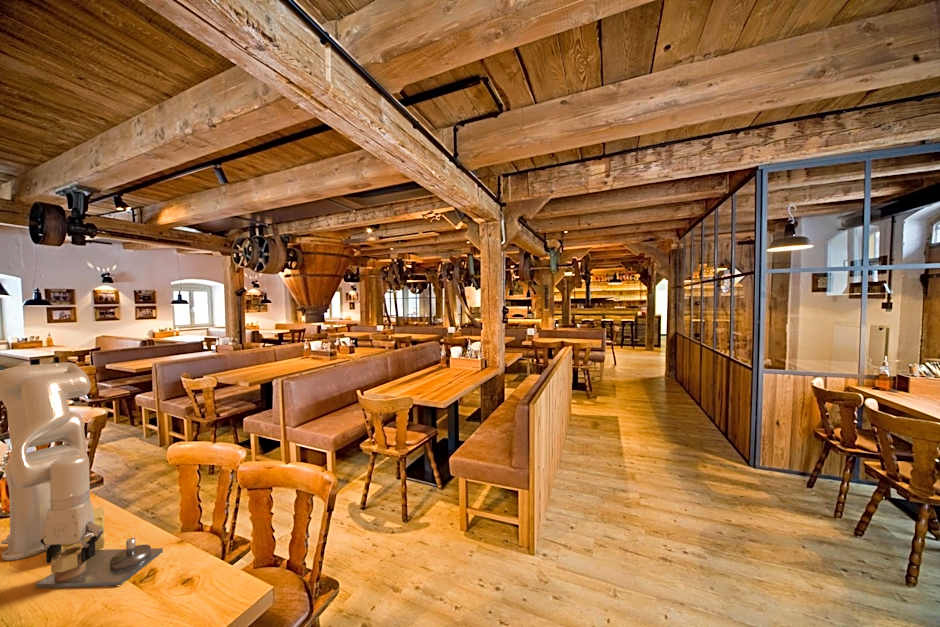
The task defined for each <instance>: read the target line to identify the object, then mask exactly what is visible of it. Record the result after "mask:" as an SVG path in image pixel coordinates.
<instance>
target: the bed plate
mask: <svg viewBox="0 0 940 627" xmlns="http://www.w3.org/2000/svg"><path fill="white" fill-rule="evenodd" d="M125 549H126V548H121V549H120V548H119V549H118V548H116V549H98V550H95V555H94V556H93V557H91V558H90V559H88V560H87V561H86V570H85V571H84V572H82V573H81V574H80V575H78V576H76V577H74V578H71V579H69V580H65V581H61V582H57V581H55V572H52V573H51V574H49V575H47V576H46V577H45V578H43V579H41V580H40V581H38V582H37V583H35V585H34V587H35V588H34V589H35V590H36V589H65V588H67V589H70V588H101V587H100V586H111V587H117V586H116V585H121V584H122V583H123V582H124V581H126V582H127V581H128V580H130V579H131V578H132V577H133V576H134V575H136V574H137V573H139V572H140V571H141V570H142V569H143V568H144V567H146V566H147V565H148V564H149V563H151V562H152V561H153V560H154V559H156V558H157V557H158V556H160V553H161V554H162V553H163V547H162V548H161V547H160V548H157V547H156V548H152V547H151V554H150V555H149V556H148V557H147V558H146V559H145V560H144V561H142V562H140V563H138V564H136V565H134V566H132V567H129V568H125V569H121V570H112V569H111V568H110V560H111V559H112V557H114V556H115V555H116V554H118V553H119V552H121V551H123V550H125ZM124 583H125V582H124ZM124 583H123V584H124ZM123 584H122V585H123ZM122 585H121V586H122Z"/></svg>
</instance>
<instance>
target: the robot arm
mask: <svg viewBox="0 0 940 627" xmlns="http://www.w3.org/2000/svg"><path fill="white" fill-rule="evenodd" d="M91 386H92V385H91V380H90V378H89V376H88V374H87V373H86V371H84V369H82V368H80V366H79V365H77V364H76V363H73V362H53V363H43V364H41V363H40V364H30V365H29V364H28V365H21V366H20V365H19V366H13V367H8V368H5V369H1V370H0V400H1V402H2V403H3V404H4V407H5V408H6V414H7V422H8V424H7V426H8V434H9V441H10V444H11V446H12V447H11V449H10V453H9V460H8V461H7V463H6V464H5V466H4V474H5V478H6V479H5V480H6V482H7V485H8V492H9V493H8V494H9V534H8V535H7V536H6V538H5V539H3V540H1V542H0V545H7V548H6V549H5V550H4V551H3V552H2V554H1V559H2V560H5V561H16V560H22V559H26V558H29V557H32V556H35V555H38V554H40V553H43V552H45V551H46V552H45V553H46V554H45V556H46V558H45V561H46V564H51V559H52V555H53V554H55V553H57V552H58V551H60V550H61V544H75V543H78V542H80V543H81V544H82V545H83V546H84V547H83V548H82V549H81V561H82V562H85V561H87V560H88V559H90V558H91V557H93V556H94V555H95V542H96V541H97V540H98V539H99V538H100V537H101V534H102V532H103V530H104V531H105V528H104V529H103V528H102V527H100V526H98V525H96V524H95V519H94V511H93V510H94V507H93V503H92V501H91V500H90V499H91V498H90V496H91V495H90V493H91V492H90V490H91V489H90V486H91V485H90V478H91V477H90V458H89V456H88V450H87V441H86V434H85V426H84V421H83V417H82V416H81V415H80V414H79V413H78V412H75V411H70V407H69V403H68V399H73V398H80V397H85V396H87V395H88V394H89V393H90V391H91ZM56 442H57V443H58V442H62V443H64V444H60V445H54V446H51V447H46V448H41V449H36V450H32V451H27V449H29V448H35V447H39V446H43V445H47V444H53V443H56ZM93 533H94V534H93ZM84 535H85V536H84ZM87 537H88V538H89V539H90V540H89V541H87V540H86V539H85V538H87Z"/></svg>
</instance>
